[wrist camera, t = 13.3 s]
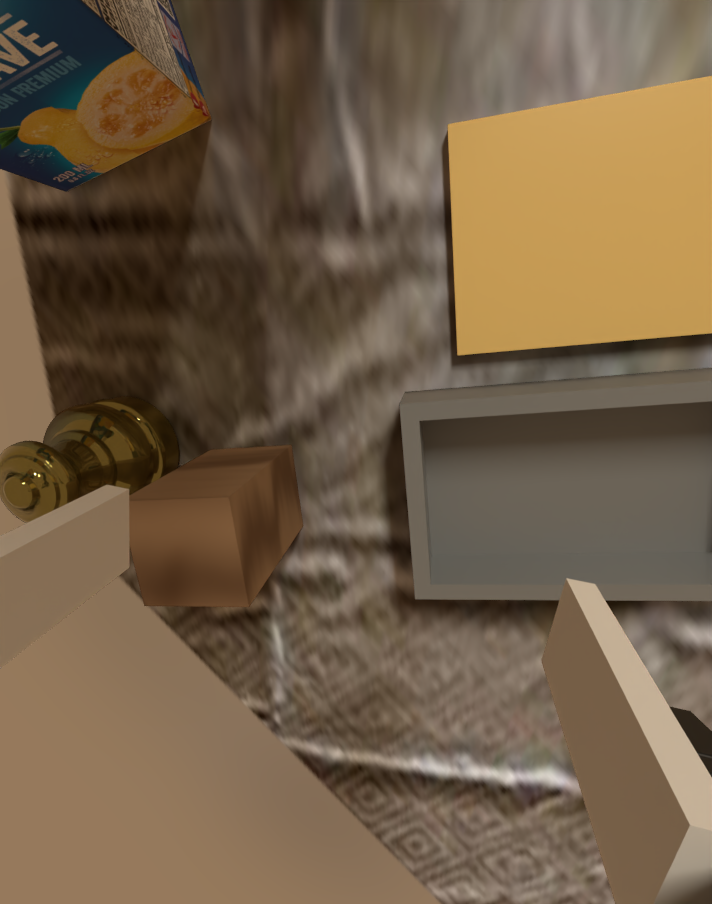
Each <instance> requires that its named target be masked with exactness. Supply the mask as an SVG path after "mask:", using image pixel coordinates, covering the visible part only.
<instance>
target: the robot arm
mask: <svg viewBox="0 0 712 904" xmlns="http://www.w3.org/2000/svg"><path fill="white" fill-rule="evenodd" d="M129 567H130V563H129V489H126V488H121V487H116V486H111V485H105V486H103V487H101V488H99V489H97V490H95V491H93V492H91V493H88V494H86V495H84V496H82V497H80V498H78V499H76V500H74V501H72V502H70V503H68V504H66V505H63V506H61V507H59V508H57V509H55V510H53V511H51V512H49V513H47V514H45V515H43V516H41V517H39V518H36V519H34V520H32V521H30V522H28V523H26V524H24V525H22V526H20V527H18V528H16V529H14V530H12V531H9V532H8V533H5V534H3V535H1V536H0V668H2V667H3V666H4V665H5V664H7V663H8V662H9V661H10V660H12V659H13V658H14V657H16V656H17V655H18V654H19V653H21V652H22V651H23V650H25V649H26V648H27V647H28V646H30V645H31V644H32V643H33V642H35V641H36V640H37V639H39V638H40V637H41V636H42V635H44V634H45V633H46V632H47V631H49V630H50V629H51V628H53V627H54V626H55V625H56V624H58V623H59V622H60V621H62V620H63V619H64V618H65V617H67V616H68V615H69V614H71V613H72V612H73V611H74V610H76V609H77V608H78V607H79V606H81V605H82V604H83V603H85V602H86V601H87V600H88V599H90V598H91V597H92V596H94V595H95V594H96V593H97V592H99V591H100V590H101V589H102V588H104V587H105V586H106V585H108V584H109V583H110V582H111V581H113V580H114V579H115V578H117V577H118V576H119V575H120V574H122V573H123V572H124V571H125V570H127V569H128V568H129ZM541 661H542V664H543V668H544V671H545V674H546V678H547V681H548V684H549V687H550V691H551V694H552V697H553V701H554V704H555V707H556V710H557V714H558V717H559V720H560V724H561V727H562V730H563V733H564V737H565V740H566V743H567V746H568V750H569V753H570V756H571V760H572V763H573V766H574V769H575V773H576V776H577V779H578V783H579V786H580V789H581V792H582V796H583V799H584V802H585V806H586V809H587V812H588V815H589V819H590V822H591V825H592V829H593V832H594V835H595V838H596V842H597V845H598V848H599V852H600V855H601V858H602V861H603V865H604V868H605V871H606V875H607V878H608V881H609V884H610V888H611V891H612V894H613V898H614V901H615V904H712V731H711V730H710V729H709V728H707V727H706V726H705V725H704V724H703V723H702V722H701V721H700V720H699V719H698V718H697V717H696V716H695V715H694V714H693V713H692V712H691V711H687V710H682V709H678V708H674V707H669V706H668V704H667V702H666V701H665V699H664V697H663V696H662V694H661V692H660V691H659V689H658V687H657V686H656V684H655V682H654V681H653V679H652V677H651V676H650V674H649V672H648V671H647V669H646V668H645V666H644V664H643V663H642V661H641V659H640V658H639V656H638V654H637V653H636V651H635V649H634V648H633V646H632V644H631V643H630V641H629V639H628V638H627V636H626V634H625V633H624V631H623V629H622V628H621V626H620V624H619V623H618V621H617V619H616V618H615V616H614V614H613V613H612V611H611V609H610V608H609V606H608V604H607V603H606V601H605V599H604V598H603V596H602V594H601V593H600V591H599V589H598V588H597V586H596V585H595V584H593V583H588V582H583V581H578V580H573V579H568V578H566V580H565V584H564V587H563V590H562V594H561V597H560V600H559V604H558V607H557V610H556V614H555V617H554V620H553V624H552V627H551V630H550V634H549V637H548V640H547V644H546V647H545V650H544V654H543V657H542V660H541Z"/></svg>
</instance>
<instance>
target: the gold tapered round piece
mask: <svg viewBox="0 0 712 904" xmlns="http://www.w3.org/2000/svg"><path fill="white" fill-rule="evenodd" d="M178 460H179V448H178V442H177V438H176V435H175V432H174V430H173V428H172V426H171V425H170V423H169V421H168V420H167V419H166V417H165V416H164V415H163V414H162V413H161V412H160V411H159V410H158V409H157V408H155V407H154V406H153V405H151V404H150V403H148V402H146V401H144V400H141V399H139V398H135V397H129V396H120V397H114V398H110V399H102V400H97V401H94V402H91V403H89V404H80V405H75V406H72V407H69V408H67V409H65V410H64V411H62V412H61V413H59V414H58V415H57V416H56V417H55V418H54V419H53V420H52V422H51V423H50V424H49V426H48V428H47V431H46V433H45V436H44V440H43V443H40V442H36V441H23V442H19V443H16V444H13V445H11V446H9V447H8V448H6V449H5V450H4V451H3V452H2V453H1V454H0V498H1V500H2V501H3V503H4V504H5V506H6V507H7V508H8V510H9V511H10V512H11V513H12V514H13V515H15V516H16V517H17V518H18V519H20V520H21V521H23V522H25V523H28V522H30V521H32V520H34V519H36V518H39V517H41V516H43V515H45V514H47V513H49V512H51V511H53V510H55V509H57V508H59V507H61V506H63V505H66V504H68V503H70V502H72V501H74V500H76V499H78V498H80V497H82V496H84V495H86V494H88V493H91V492H93V491H95V490H97V489H99V488H101V487H103V486H105V485H111V486H116V487H121V488H126V489H129V495H131V494H133V493H135V492H137V491H138V490H140V489H142V488H144V487H145V486H147V485H149V484H151V483H153V482H154V481H156V480H158V479H160V478H161V477H163V476H165V475H167V474H169V473H170V472H172V471H174V470H176V468H177V465H178Z"/></svg>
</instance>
